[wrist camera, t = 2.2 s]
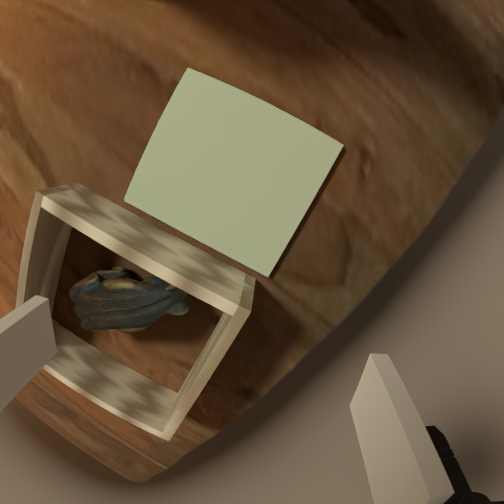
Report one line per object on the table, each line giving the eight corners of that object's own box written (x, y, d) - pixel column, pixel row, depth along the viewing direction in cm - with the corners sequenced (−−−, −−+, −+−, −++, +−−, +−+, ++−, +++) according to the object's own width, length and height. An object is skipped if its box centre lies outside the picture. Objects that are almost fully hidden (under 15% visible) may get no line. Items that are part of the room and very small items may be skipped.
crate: (44, 320, 39) (14, 346, 31) (77, 182, 33) (36, 190, 25) (182, 401, 41) (168, 441, 33) (255, 278, 35) (251, 311, 27)
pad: (125, 199, 33) (123, 200, 32) (189, 69, 29) (187, 67, 28) (268, 275, 34) (267, 277, 34) (342, 145, 30) (343, 145, 30)
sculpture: (186, 255, 34) (166, 274, 27) (198, 309, 36) (182, 338, 29) (89, 269, 35) (58, 287, 29) (103, 316, 37) (76, 341, 30)
